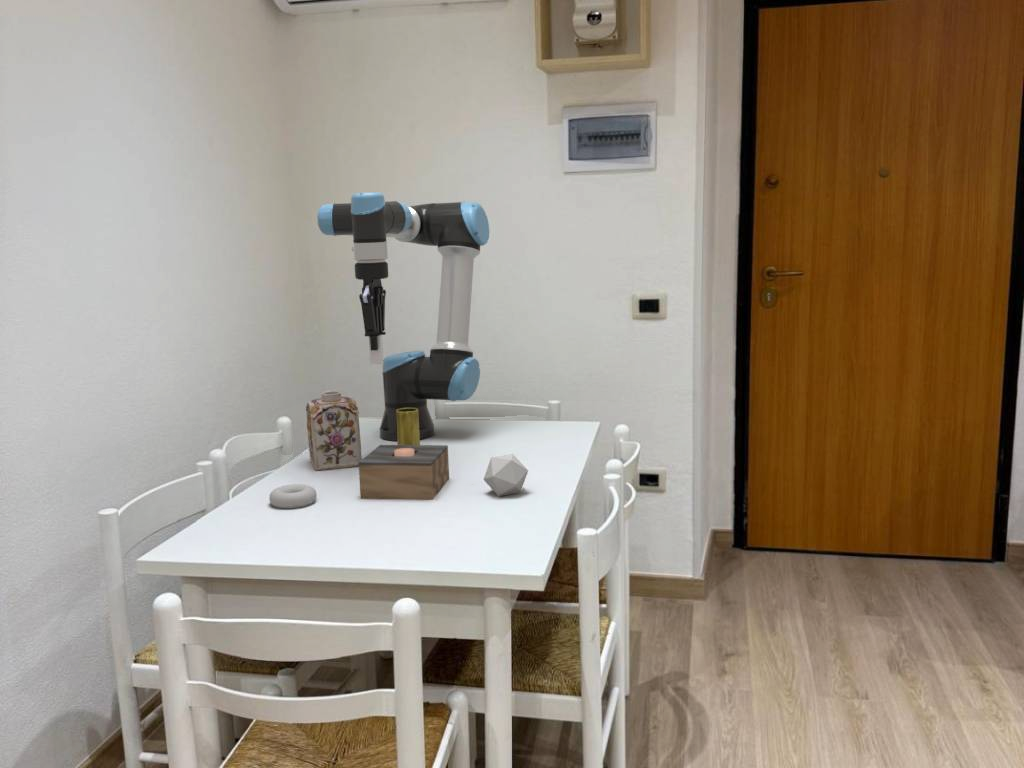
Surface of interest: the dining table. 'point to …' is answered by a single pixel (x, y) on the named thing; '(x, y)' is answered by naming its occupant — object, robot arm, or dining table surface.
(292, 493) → the donut
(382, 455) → the socket block
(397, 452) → the peg
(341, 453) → the decorative jar
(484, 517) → the dining table surface
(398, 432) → the vase
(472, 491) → the dining table surface
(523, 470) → the die
